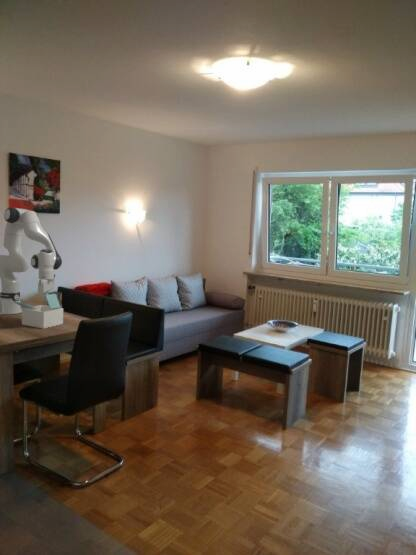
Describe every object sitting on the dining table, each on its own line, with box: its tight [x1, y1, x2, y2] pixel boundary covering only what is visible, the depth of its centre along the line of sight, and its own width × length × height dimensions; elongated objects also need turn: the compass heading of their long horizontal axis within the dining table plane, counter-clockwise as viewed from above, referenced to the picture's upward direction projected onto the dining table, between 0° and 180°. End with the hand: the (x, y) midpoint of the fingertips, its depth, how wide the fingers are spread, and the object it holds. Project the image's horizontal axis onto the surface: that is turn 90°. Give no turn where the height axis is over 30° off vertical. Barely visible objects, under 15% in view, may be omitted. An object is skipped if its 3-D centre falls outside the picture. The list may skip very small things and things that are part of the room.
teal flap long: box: [14, 301, 36, 310], centre depth 264 cm, size 10×1×9 cm
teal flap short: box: [45, 294, 60, 309], centre depth 273 cm, size 1×8×9 cm, turn 154°
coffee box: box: [46, 291, 63, 308], centre depth 299 cm, size 9×6×16 cm
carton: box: [21, 304, 64, 330], centre depth 275 cm, size 19×17×10 cm
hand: (45, 298), depth 275 cm, fingers closed
